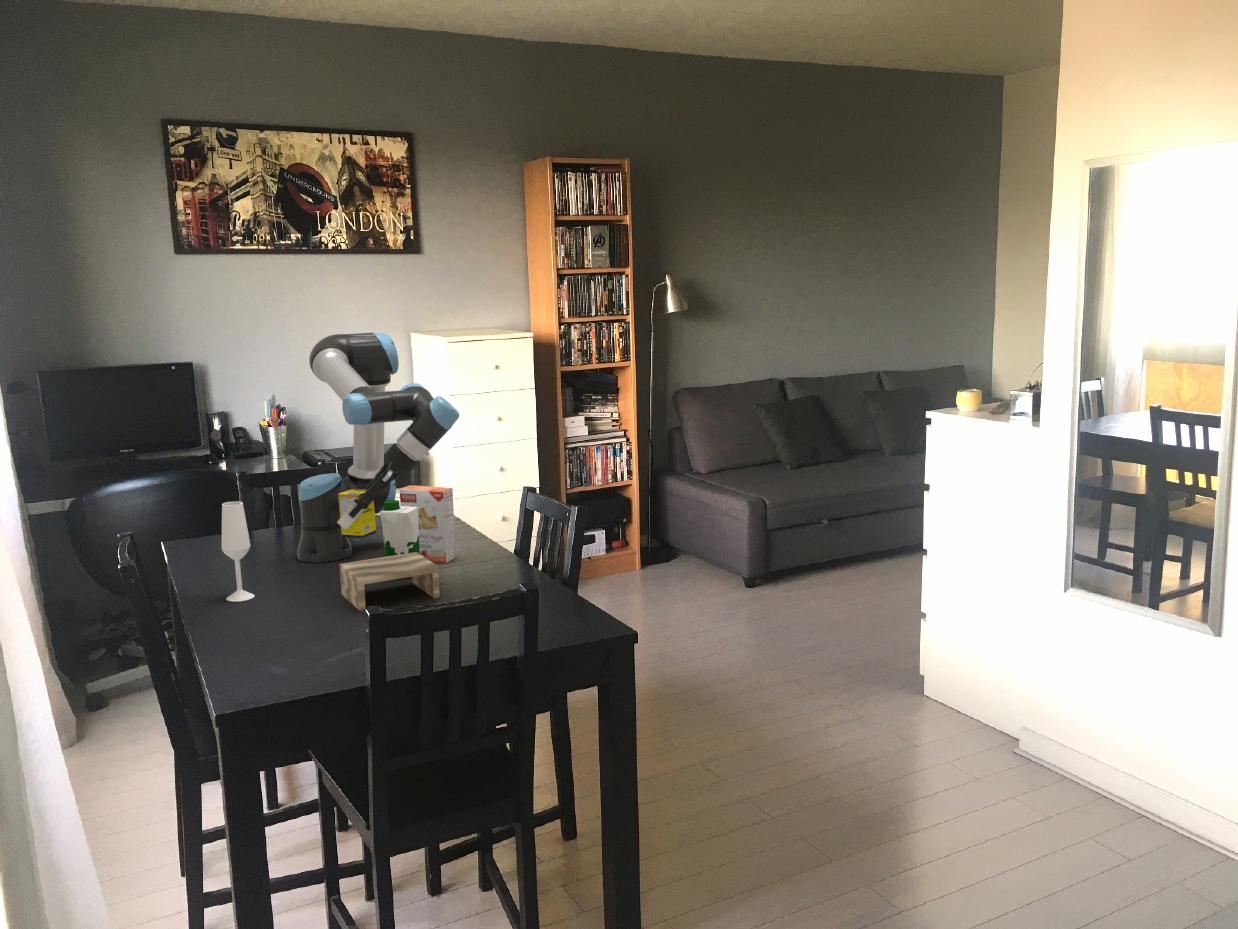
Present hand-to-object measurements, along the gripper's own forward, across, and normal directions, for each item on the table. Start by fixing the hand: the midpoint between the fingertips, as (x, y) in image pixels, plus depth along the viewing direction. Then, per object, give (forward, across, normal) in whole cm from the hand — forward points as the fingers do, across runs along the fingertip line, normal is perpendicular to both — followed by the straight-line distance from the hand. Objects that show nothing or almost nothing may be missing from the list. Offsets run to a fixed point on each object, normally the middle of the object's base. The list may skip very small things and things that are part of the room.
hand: (343, 521), depth 233 cm
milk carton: (+6, +22, -23) cm, 32 cm away
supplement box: (0, 0, -5) cm, 5 cm away
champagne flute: (+34, +10, +6) cm, 36 cm away
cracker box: (+2, +36, -28) cm, 45 cm away
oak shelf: (+8, +3, -21) cm, 23 cm away
